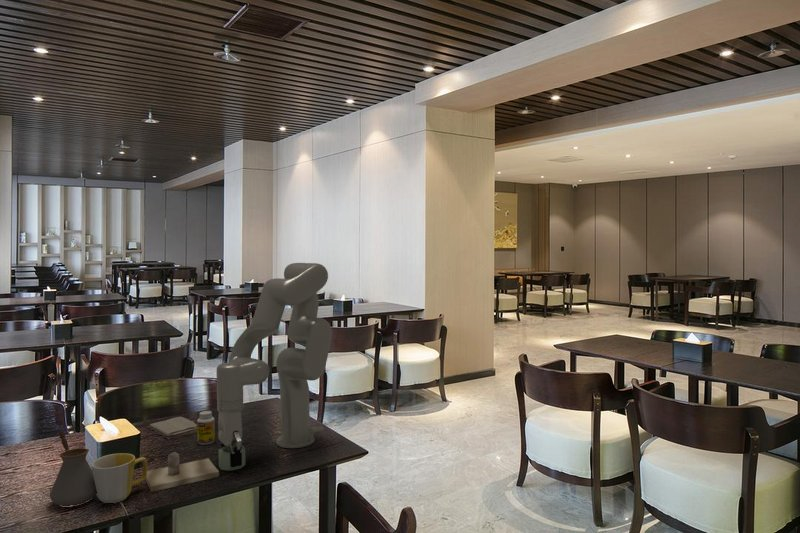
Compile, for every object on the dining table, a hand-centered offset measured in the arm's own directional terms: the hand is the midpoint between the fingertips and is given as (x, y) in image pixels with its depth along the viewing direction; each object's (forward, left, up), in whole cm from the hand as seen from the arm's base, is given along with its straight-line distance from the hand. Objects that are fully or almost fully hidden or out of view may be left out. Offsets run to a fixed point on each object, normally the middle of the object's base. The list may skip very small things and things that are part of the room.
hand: (231, 460), depth 170 cm
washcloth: (+8, -45, -2) cm, 46 cm away
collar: (0, 0, -2) cm, 2 cm away
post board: (+14, 0, -2) cm, 14 cm away
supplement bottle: (+1, -25, -2) cm, 25 cm away
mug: (+30, +5, -2) cm, 31 cm away
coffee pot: (+42, -5, -2) cm, 42 cm away
